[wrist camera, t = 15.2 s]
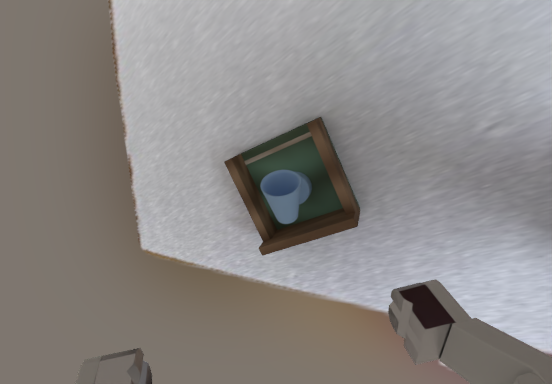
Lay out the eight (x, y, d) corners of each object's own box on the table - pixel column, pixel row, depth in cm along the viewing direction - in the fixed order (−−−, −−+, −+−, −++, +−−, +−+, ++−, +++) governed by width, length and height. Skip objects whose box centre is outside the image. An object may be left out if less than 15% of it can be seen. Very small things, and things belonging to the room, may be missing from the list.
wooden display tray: (235, 156, 49) (217, 165, 44) (320, 116, 44) (312, 121, 38) (274, 237, 52) (262, 255, 46) (360, 209, 46) (357, 226, 41)
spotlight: (279, 159, 47) (280, 205, 49) (254, 178, 38) (257, 233, 40) (313, 160, 45) (313, 207, 47) (296, 180, 36) (297, 236, 38)
